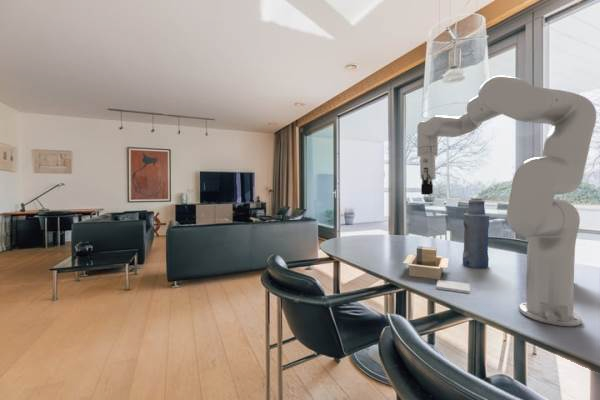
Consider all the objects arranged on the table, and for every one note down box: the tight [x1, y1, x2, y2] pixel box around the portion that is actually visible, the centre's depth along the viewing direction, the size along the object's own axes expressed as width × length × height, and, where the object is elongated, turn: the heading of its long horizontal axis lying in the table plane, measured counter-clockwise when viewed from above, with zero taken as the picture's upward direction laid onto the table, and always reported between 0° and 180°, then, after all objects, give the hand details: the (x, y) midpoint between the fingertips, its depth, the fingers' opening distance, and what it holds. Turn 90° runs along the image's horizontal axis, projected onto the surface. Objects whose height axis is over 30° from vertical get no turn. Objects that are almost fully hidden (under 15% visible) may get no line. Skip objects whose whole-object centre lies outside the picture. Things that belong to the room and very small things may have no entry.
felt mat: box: [435, 279, 471, 294], centre depth 99 cm, size 8×10×1 cm
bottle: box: [462, 197, 490, 269], centre depth 124 cm, size 10×10×30 cm
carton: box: [402, 253, 450, 280], centre depth 117 cm, size 20×16×5 cm
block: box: [416, 245, 437, 267], centre depth 116 cm, size 5×7×10 cm
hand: (427, 194), depth 115 cm, fingers open, 9 cm apart
